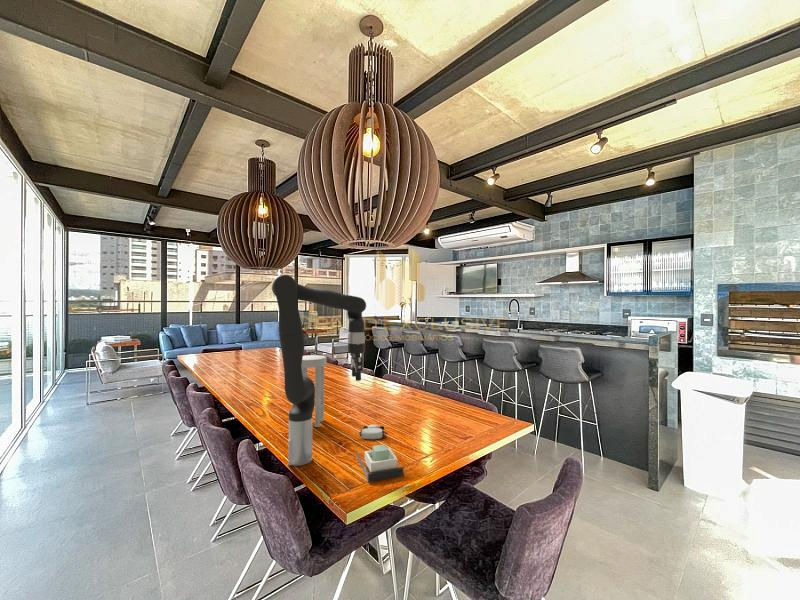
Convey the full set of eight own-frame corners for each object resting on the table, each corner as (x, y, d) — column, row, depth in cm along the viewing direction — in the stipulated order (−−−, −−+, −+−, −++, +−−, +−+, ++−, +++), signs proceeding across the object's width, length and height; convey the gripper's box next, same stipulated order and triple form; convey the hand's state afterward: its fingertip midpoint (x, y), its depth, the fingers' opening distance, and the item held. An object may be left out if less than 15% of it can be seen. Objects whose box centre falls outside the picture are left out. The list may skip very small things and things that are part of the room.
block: (375, 465, 122) (375, 451, 122) (372, 459, 127) (372, 446, 127) (388, 463, 124) (388, 449, 124) (385, 457, 128) (385, 444, 128)
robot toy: (361, 432, 166) (357, 442, 151) (361, 423, 167) (358, 432, 152) (386, 432, 166) (384, 442, 151) (386, 423, 167) (384, 432, 152)
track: (368, 485, 116) (368, 474, 116) (355, 458, 137) (355, 448, 137) (403, 479, 120) (403, 468, 120) (385, 453, 141) (385, 443, 141)
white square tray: (370, 478, 119) (371, 463, 119) (364, 465, 128) (364, 451, 128) (397, 474, 122) (397, 459, 122) (389, 461, 131) (389, 447, 131)
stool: (291, 429, 168) (292, 359, 168) (300, 418, 183) (300, 355, 183) (322, 429, 168) (323, 359, 168) (328, 418, 184) (328, 354, 184)
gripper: (345, 340, 154) (345, 375, 154) (351, 344, 140) (350, 382, 140) (361, 340, 156) (361, 374, 156) (368, 343, 143) (368, 381, 143)
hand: (356, 378), depth 148 cm, fingers open, 8 cm apart
